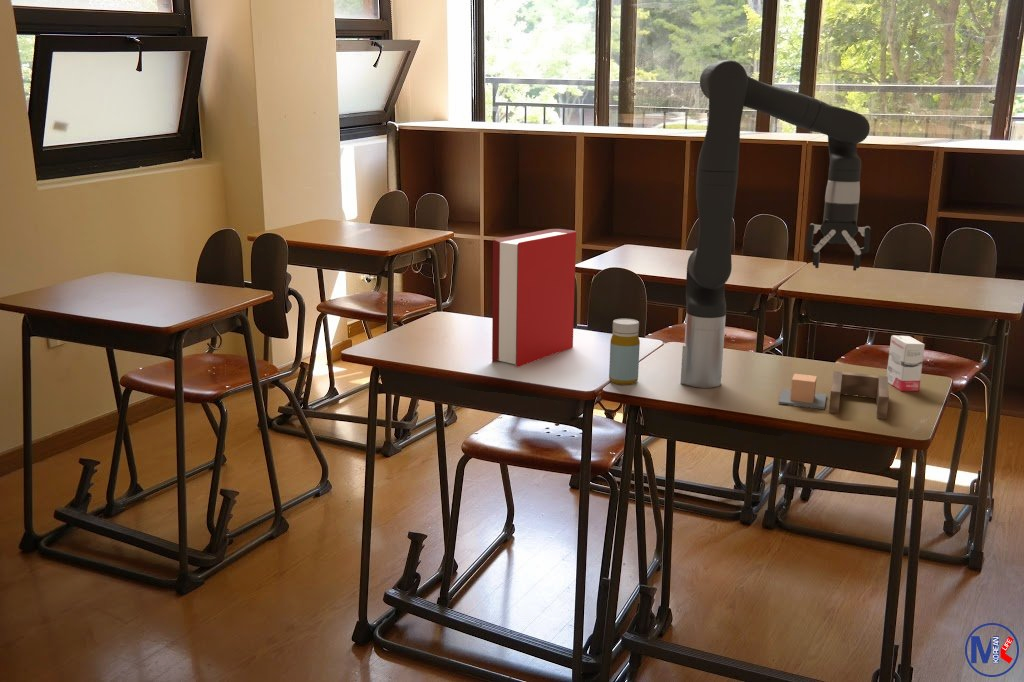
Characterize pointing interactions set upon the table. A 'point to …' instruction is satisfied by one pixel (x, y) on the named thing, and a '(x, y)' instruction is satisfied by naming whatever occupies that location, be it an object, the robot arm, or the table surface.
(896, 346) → the ink box
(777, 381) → the table surface
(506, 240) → the book
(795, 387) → the cube
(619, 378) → the bottle
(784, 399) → the pad
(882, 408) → the cubby
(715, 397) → the table surface
